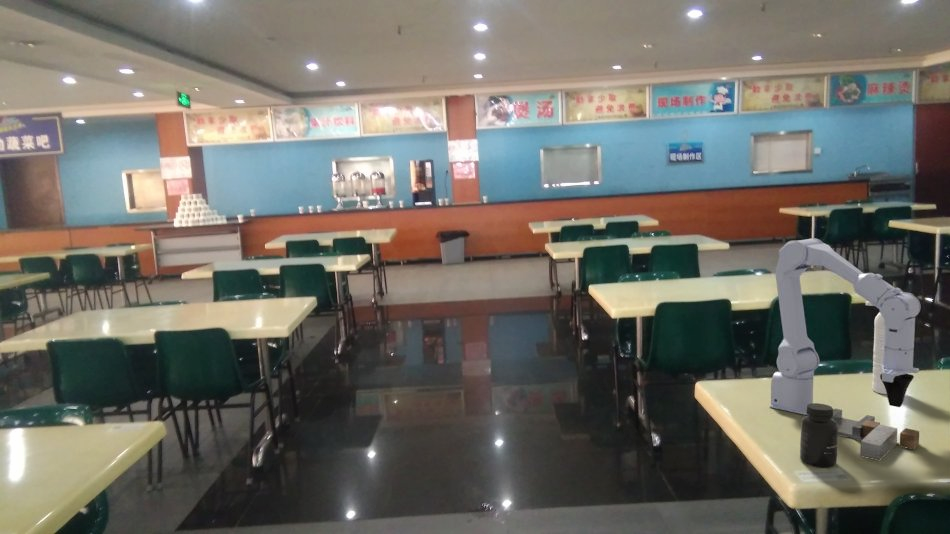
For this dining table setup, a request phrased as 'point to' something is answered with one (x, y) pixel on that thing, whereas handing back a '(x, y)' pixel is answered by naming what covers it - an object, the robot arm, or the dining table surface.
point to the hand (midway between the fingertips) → (895, 405)
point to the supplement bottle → (819, 436)
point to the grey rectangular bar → (878, 442)
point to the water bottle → (878, 353)
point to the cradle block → (850, 425)
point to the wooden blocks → (907, 436)
